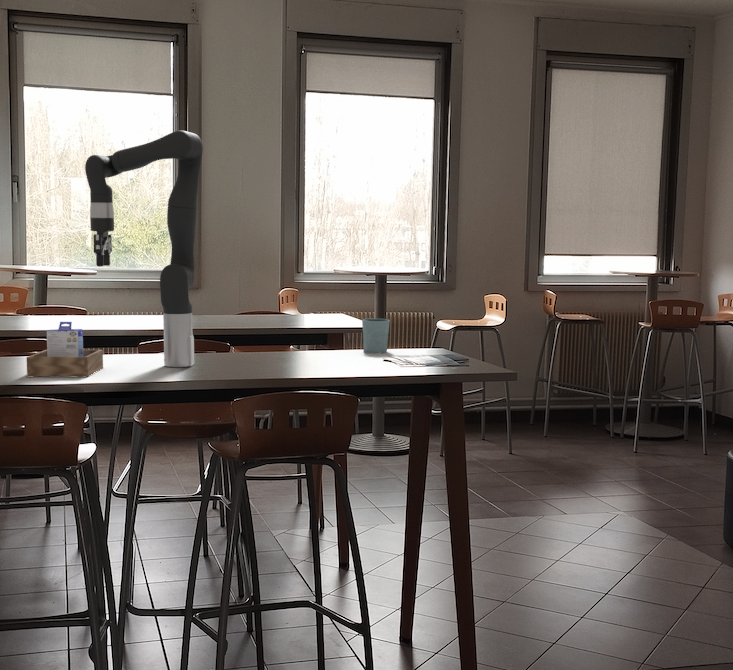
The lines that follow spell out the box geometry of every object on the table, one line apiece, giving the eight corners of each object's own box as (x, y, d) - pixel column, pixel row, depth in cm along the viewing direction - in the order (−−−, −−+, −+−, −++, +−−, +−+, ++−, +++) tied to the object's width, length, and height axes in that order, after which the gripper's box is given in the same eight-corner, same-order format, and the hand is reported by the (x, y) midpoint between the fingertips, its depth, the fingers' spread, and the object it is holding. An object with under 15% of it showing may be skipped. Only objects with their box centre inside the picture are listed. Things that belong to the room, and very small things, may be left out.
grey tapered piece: (368, 349, 342) (368, 317, 341) (393, 351, 338) (393, 318, 337) (357, 352, 332) (358, 320, 331) (383, 354, 329) (384, 321, 328)
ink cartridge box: (84, 367, 285) (83, 321, 283) (79, 370, 279) (78, 323, 278) (52, 367, 284) (50, 321, 283) (47, 370, 279) (45, 323, 277)
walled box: (103, 368, 292) (102, 349, 291) (88, 377, 274) (87, 357, 273) (46, 368, 291) (45, 349, 290) (27, 377, 273) (26, 357, 272)
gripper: (108, 216, 295) (109, 266, 297) (118, 217, 309) (119, 265, 311) (84, 216, 295) (86, 266, 297) (96, 217, 309) (97, 265, 311)
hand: (103, 265), depth 304 cm, fingers open, 8 cm apart
